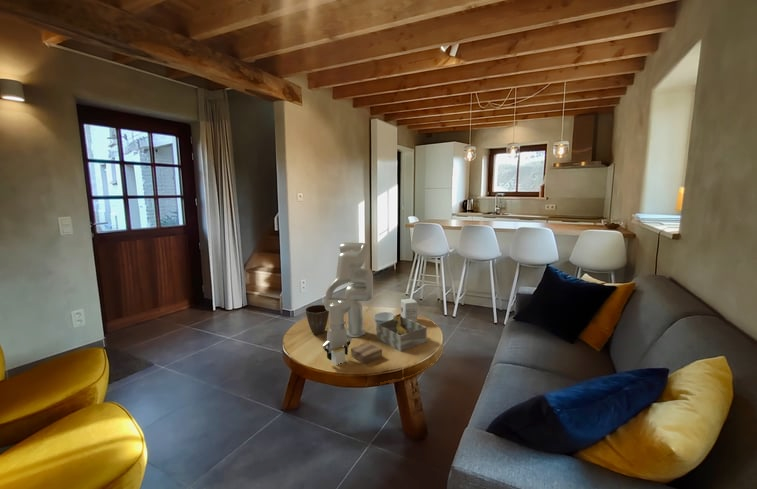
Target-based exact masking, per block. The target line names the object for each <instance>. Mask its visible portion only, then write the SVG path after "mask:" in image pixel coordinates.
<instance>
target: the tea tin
mask: <svg viewBox="0 0 757 489" xmlns="http://www.w3.org/2000/svg"><path fill="white" fill-rule="evenodd" d="M331 356H332V360H330V362H331V361H332V362H333V365H334V366H339V365H341V364H340V363H342V364H344V363H343V362H345V363H346V354H345V348H344V346H341V347H338V348H334V349H332V351H331ZM332 362H331V363H332ZM338 364H339V365H338Z"/></svg>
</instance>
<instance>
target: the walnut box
mask: <svg viewBox="0 0 757 489" xmlns="http://www.w3.org/2000/svg"><path fill="white" fill-rule="evenodd" d="M350 356H351V358H353V359H354V360H356V361H357V360H358V362H359V363H361V364H363V365H364V366H365V365H368V364H370V363H372V362H375V361H377V360H378V361H379V359H382V358H383V349H381V347H380V348H379V347H378V346H376V345H374V344H372V343H370V342H366V343H363V344H360V345H358V346H355V347H352V348H351V349H350Z"/></svg>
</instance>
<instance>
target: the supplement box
mask: <svg viewBox="0 0 757 489" xmlns="http://www.w3.org/2000/svg"><path fill="white" fill-rule="evenodd" d="M400 315H401V317H405V318H407V319H409V320H411V321H414V322H416V323H418V301H416V300H415V299H414V298H411V297H410V298H405V299H404V298H402V299H400Z"/></svg>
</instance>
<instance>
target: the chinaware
mask: <svg viewBox="0 0 757 489" xmlns="http://www.w3.org/2000/svg"><path fill="white" fill-rule="evenodd" d="M395 315H396V313H393V312H387V311H383V312H377V313H375V314H374V315H373V319H374V322H375V323H376V324H378V323H382V322H385V321H388V320H392V319H393V317H394V316H395Z"/></svg>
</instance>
